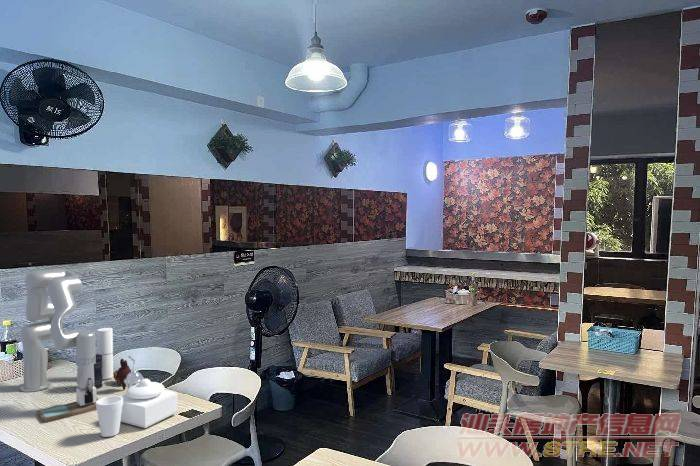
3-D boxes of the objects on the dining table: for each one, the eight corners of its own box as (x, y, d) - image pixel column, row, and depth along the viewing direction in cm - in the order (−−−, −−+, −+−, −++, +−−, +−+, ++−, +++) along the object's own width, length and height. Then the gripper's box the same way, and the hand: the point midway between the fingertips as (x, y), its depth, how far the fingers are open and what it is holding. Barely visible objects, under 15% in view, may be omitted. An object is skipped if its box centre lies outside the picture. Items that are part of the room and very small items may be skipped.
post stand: (36, 414, 205) (36, 397, 205) (95, 400, 221) (95, 383, 221) (44, 423, 196) (43, 405, 196) (104, 407, 213) (104, 390, 212)
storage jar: (107, 386, 239) (106, 356, 238) (87, 392, 231) (86, 361, 230) (95, 382, 244) (95, 353, 244) (75, 388, 236) (75, 357, 235)
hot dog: (122, 378, 251) (122, 368, 251) (131, 384, 241) (131, 375, 241) (112, 380, 248) (111, 370, 247) (120, 387, 238) (120, 377, 238)
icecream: (134, 390, 234) (134, 359, 233) (118, 394, 229) (118, 362, 228) (129, 386, 239) (128, 356, 238) (113, 390, 234) (113, 359, 233)
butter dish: (177, 412, 209) (177, 375, 209) (144, 428, 193) (143, 389, 192) (147, 405, 217) (147, 369, 216) (113, 420, 200) (112, 382, 200)
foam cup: (102, 428, 193) (102, 395, 192) (126, 427, 193) (126, 395, 193) (92, 439, 183) (91, 405, 183) (117, 438, 184) (117, 404, 184)
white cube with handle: (76, 401, 213) (76, 386, 213) (92, 397, 217) (92, 382, 217) (80, 405, 208) (80, 390, 208) (96, 401, 213) (96, 386, 212)
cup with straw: (123, 406, 214) (122, 361, 213) (124, 399, 222) (124, 356, 222) (144, 404, 217) (143, 359, 216) (144, 396, 226) (144, 354, 225)
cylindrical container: (106, 379, 248) (106, 331, 247) (94, 378, 249) (94, 330, 248) (116, 375, 255) (115, 328, 254) (104, 374, 256) (103, 327, 255)
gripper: (71, 357, 216) (72, 397, 217) (81, 366, 203) (82, 409, 204) (89, 354, 221) (90, 393, 222) (101, 363, 208) (101, 404, 209)
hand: (86, 400), depth 213 cm, fingers closed on white cube with handle, 6 cm apart
